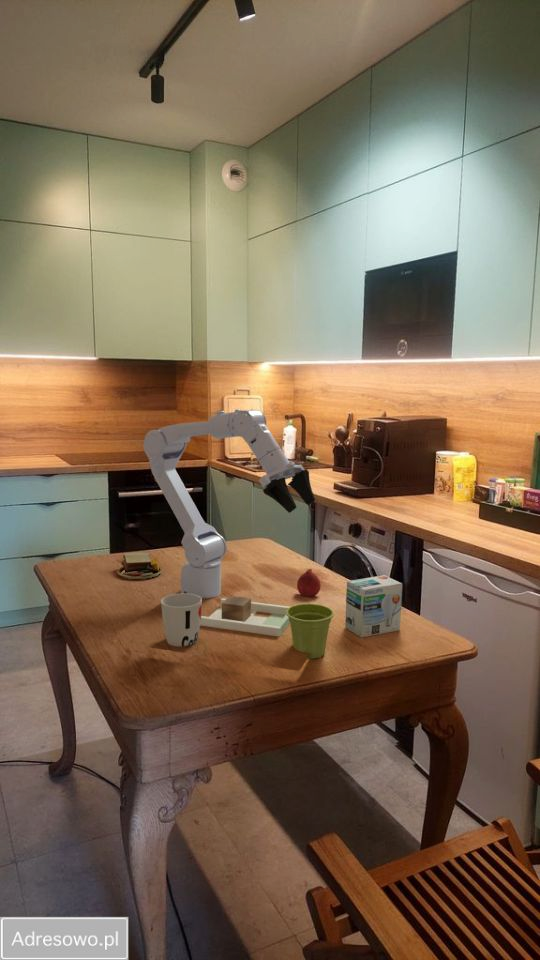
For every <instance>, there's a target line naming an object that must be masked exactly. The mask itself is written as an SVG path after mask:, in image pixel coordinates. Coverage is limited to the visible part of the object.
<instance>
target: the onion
mask: <svg viewBox="0 0 540 960" xmlns="http://www.w3.org/2000/svg"><path fill="white" fill-rule="evenodd" d="M296 583H297V584H296V587H297V589H296V590H297V591H298V593H299V595H300V596H301V597H305V598H313V597H316V596H317V595H318V594H319V593H320V590H321V585H322V584H321V580H320V578H319V577H318V576H317V574H316V573H314V572H313V569H312V568H310V567H308V568H307V570H306V571H305V572H303V573H302V574H301V575H300V576H299V578H297V582H296Z"/></svg>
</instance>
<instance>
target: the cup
mask: <svg viewBox="0 0 540 960" xmlns="http://www.w3.org/2000/svg"><path fill="white" fill-rule="evenodd" d="M202 602H203V598H201V597H200V596H197V595H194V594H187V593H186V592H185V593H182V594H181V593H174V594H173V593H172V594H170V595H167V596H164V597H163V598H162V599H161V601H160V604H161V617H162V624H163V631H164V634H165V639H166V641H167V643H168V645H170V646H174V647H188V646H191V645H194V644H196V642H197V640H198V638H199V634H200V627H201V625H200V622H201V616H202V605H203V603H202ZM171 651H172V652H175V653H181V651H179V650H174V649H173V650H171Z"/></svg>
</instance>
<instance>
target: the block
mask: <svg viewBox="0 0 540 960" xmlns="http://www.w3.org/2000/svg"><path fill="white" fill-rule="evenodd" d="M225 599H226V600H225V601H224V602H222V619H228V620H235V621H242V622H245V621H246V620H247V619H248V618H249V617H250V616H251V602H252V598H250V597H241V596H236V595H235V596H234V595H233V596H232V595H229V596H228V597H226V598H225Z"/></svg>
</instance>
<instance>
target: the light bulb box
mask: <svg viewBox="0 0 540 960" xmlns="http://www.w3.org/2000/svg"><path fill="white" fill-rule="evenodd" d="M345 595H346V597H345V622H344V623H345V626H344V628H346V630H347V629H348V630H349V631H350V632H352V633H354V634H355V635H357V636H358V637H360V638H366V637H372V636H376V635H382V634H385V633H391V632H397V631H400V629H401V616H402V614H401V613H402V600H403V599H402V598H403V583H402V582H399V581H397V580H395V579H393V578H391V577H389V576H388V575H385V574H383V575H377V576H372V577H365V578H360V579H354V580H353V579H351V580H346V594H345Z"/></svg>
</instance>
